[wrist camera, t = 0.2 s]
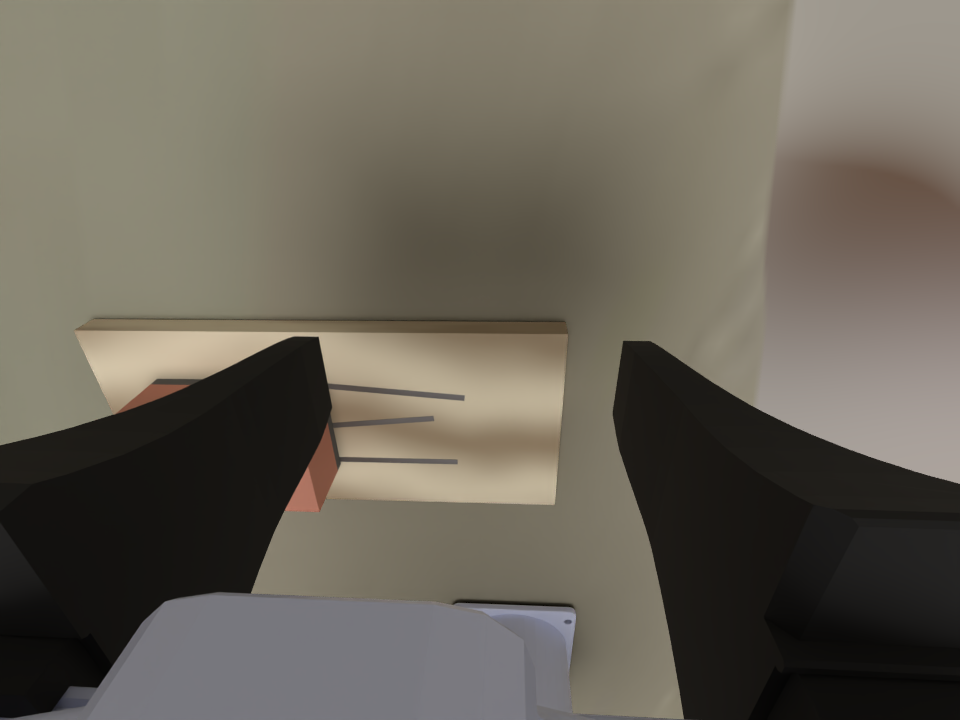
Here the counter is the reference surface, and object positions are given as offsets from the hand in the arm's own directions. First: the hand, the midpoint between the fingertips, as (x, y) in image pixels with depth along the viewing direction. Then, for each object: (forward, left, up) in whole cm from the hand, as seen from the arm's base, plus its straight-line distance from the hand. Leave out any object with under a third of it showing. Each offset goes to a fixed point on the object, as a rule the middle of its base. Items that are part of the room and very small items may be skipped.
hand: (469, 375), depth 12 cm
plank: (-8, +8, -10) cm, 15 cm away
